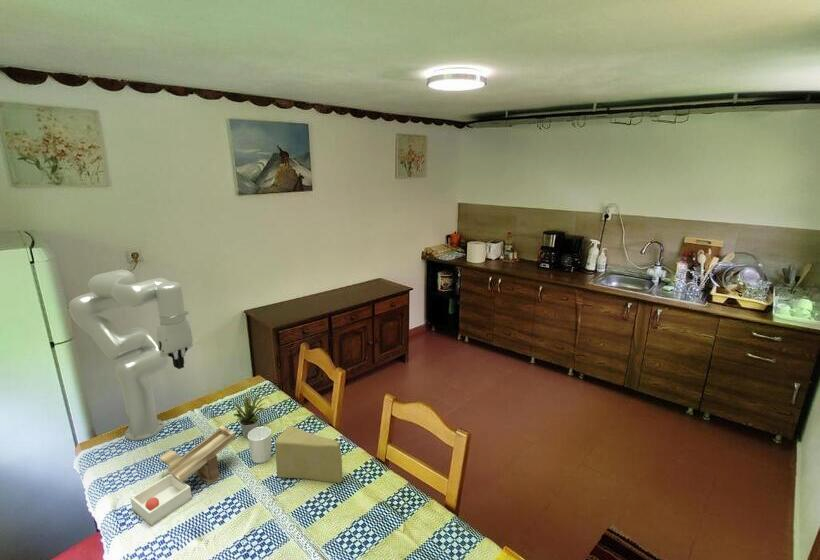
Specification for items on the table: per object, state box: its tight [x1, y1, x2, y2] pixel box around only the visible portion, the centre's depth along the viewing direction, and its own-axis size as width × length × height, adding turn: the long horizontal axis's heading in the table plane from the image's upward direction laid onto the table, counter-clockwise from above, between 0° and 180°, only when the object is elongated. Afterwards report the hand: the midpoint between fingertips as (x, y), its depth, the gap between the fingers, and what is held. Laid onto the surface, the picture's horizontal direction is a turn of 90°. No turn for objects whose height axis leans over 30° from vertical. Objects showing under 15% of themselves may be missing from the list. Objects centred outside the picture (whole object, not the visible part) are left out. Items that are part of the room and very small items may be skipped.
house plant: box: [229, 391, 269, 439], centre depth 157 cm, size 14×14×16 cm
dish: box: [130, 473, 193, 527], centre depth 125 cm, size 11×12×4 cm
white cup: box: [247, 426, 272, 464], centre depth 146 cm, size 8×8×10 cm
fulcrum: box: [193, 454, 222, 485], centre depth 137 cm, size 10×4×9 cm, turn 59°
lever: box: [158, 425, 237, 482], centre depth 137 cm, size 16×20×4 cm
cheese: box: [274, 425, 343, 484], centre depth 137 cm, size 22×10×15 cm, turn 75°
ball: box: [145, 497, 159, 511], centre depth 123 cm, size 4×4×4 cm
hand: (179, 367), depth 142 cm, fingers closed
